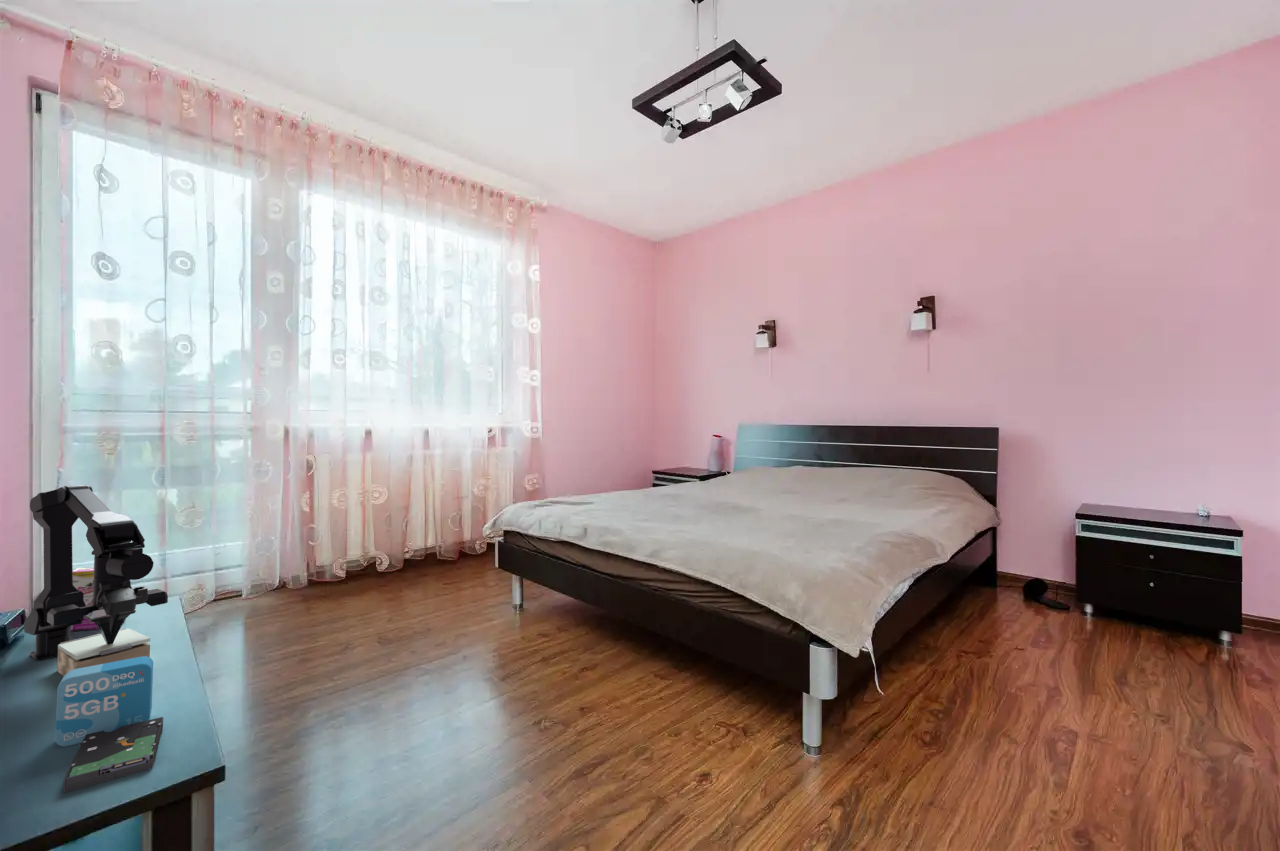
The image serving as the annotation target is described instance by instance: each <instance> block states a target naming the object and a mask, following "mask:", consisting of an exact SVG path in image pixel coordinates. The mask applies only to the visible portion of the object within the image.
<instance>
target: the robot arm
mask: <svg viewBox="0 0 1280 851" xmlns="http://www.w3.org/2000/svg"><path fill="white" fill-rule="evenodd" d="M29 509H30V511H31V512H32V519H33V520H34V521H35V522H36V523H37V524H38V525H39V526H40V527H41V528H42V531H43V533H42V534H43V589H42V590H41V592H40V593H39V595H38V596H37V597H36V598H35V599H34V600H33V609H32V610H31V612H30V613H29V615H28V616H27V617H26V620H25V621H24V622H23V630H24V633H25V634H29V635H32V636H35V648H34V649H35V651H31V652H29V655H30V656H31V657H32V659H34V660H35V661H41V660H45V659H49V658H54V657H58V645H59V644H60V643H62V642H66V641H70V640H71V634H72V631H71V626H73V625H77V624H82V621H83V618H84V615H85V619H87V620H89V621H90V622H95V624H96V625H97V627H98V628H99V629H98V630H99V632H100V634H102V636H103V638H104V640H105V642H106V644H108V645H109V644H113V643H114V640H115V638H116V636H117V634H118V632H119V630H120V629H122V628H121V627H122V625H123V624H124V623H125V622H126V621H125V619H126V620H127V618H129V617H130V615H133V614H136V612H137V610H136V608H137V605H141V604H142V605H143V604H147V605H148V606H150V607H155V606H160V605H164V604H167V603H169V602H168V601H169V595H168V593H167V592H166V591H165V590H162V589H159V588H154V589H149V590H148V587H147V585H142V586H136V587H134V588H133V587H132V584H131V581H137V580H142V579H143V578H145V577H146V576H148V575H149V574H150V573H151V571H152V570H153V568H154V561H153V558H152V557H151V556H150V555H148V554H145V553H143V552H144V549H143V548H146V546H145V541H146V539H145V538H144V536H143V534H142V532H141V531H140V528H139V527H138V525H137V524H136V522H135V520H133V519H131V518H130V517H129V516H127V515H125V514H121V513H116V512H113V511H112V510H111V509H110V508H109V507H108V506H107V505H106V504H105V503H104V502H103V501H102V500H101V499H100V498H99V497H98V495H96V494H95V493H94V490H93V487H92V486H91V485H87V484H76V485H75V484H74V485H64V486H61V487H59V488H57V489H54V490H49V491H45V492H39V493H38V494H36V495H35V496H33V497H32V498H31V499H30V501H29ZM78 519H79V520H80V521H82V523H83V524H84V525H85V526H86V528H87V530H86V533H85V537H86V541H87V542H88V544H89V546H90V547H91V548H92V549H93V550H92V551H91V553H90V554H91V555H92V556H94V559H93V560H94V561H93V562H94V563H93V567H94V580H93V585H94V587H93V598H92V603H93V605H90V606H86V604H85V602H84V600H83V597H84V594H83V592H82V591H79V590H77V589H76V588H75V587H74V586H73V570H74V568H73V567H74V566H73V525H75V523H76V522H77V521H78ZM100 607H101V608H100ZM102 607H103V608H102ZM108 615H110V616H108ZM109 621H110V624H109ZM124 621H125V622H124ZM123 622H124V623H123Z"/></svg>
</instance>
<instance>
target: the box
mask: <svg viewBox="0 0 1280 851" xmlns="http://www.w3.org/2000/svg"><path fill="white" fill-rule="evenodd" d="M142 656H146V657H150V656H151V644H149V642H146V643H142V644H138V645H134V646H132V648H128V649H124V650H120V651H116V652H112V653H108V654H104V655H100V654H99V655H95V656H91V657H87V658H83V659H79V660H76V659H74V658H73V657H71V656H69V655H68V654H66V653H65V652H63V651H61V650H60V649H58V656H57V664H56V671H57V672H58V673H59V674H61V675H62V677H64V676H65V674H66V673H68V672H69V671H71V670H74V669H78V668H83V667H89V666H94V665H99V664H105V663H110V662H115V661H121V660H126V659H131V658H137V657H142ZM150 658H151V657H150Z"/></svg>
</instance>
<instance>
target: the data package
mask: <svg viewBox="0 0 1280 851" xmlns="http://www.w3.org/2000/svg"><path fill="white" fill-rule="evenodd" d="M153 675H154V660H153V659H152V657H146V656H142V657H137V658H131V659H126V660H121V661H115V662H110V663H105V664H99V665H94V666H89V667H83V668H78V669H74V670H71V671H69V672H68V673H66V674H65V676H62V679H61V680H60V682H59V684H58V686H57V688H56V689H57V690H56V714H55V716H56V717H55V743H56V745H58V746H59V747H71V746H75V745H79V744H82V741H83V739H84V738H85V736H86V735H87V734H91V733H95V732H99V731H103V730H104V731H105V732H112V731H114V730H116V729H117V728H120V727H121V726H125V725H130V724H134V723H139V722H143V721H148V720H151V719H150V718H151V714H152V708H153V684H154V683H153V680H154V679H153V677H154V676H153Z"/></svg>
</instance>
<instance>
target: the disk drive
mask: <svg viewBox="0 0 1280 851" xmlns="http://www.w3.org/2000/svg"><path fill="white" fill-rule="evenodd" d="M163 730H164V717H163V716H160V717H157V718H156V717H155V718H153V719H149V720H148V721H143V722H139V723H134V724H130V725H125V726H121V727H120V728H117V729H116V730H114V731H112V732H105V731H104V730H103V731H99V732H95V733H91V734H87V735H86V736H85V738H84V739H83V741H82V743H80V746H79V748H78V750H77V752H76V754H75V756H74V759H73V760H72V762H71V764H70V766H69V768H68V770H67V772H66V774H65V776H64V780H63V793H65V794H66V793H68V792H72V791H74V790H79V789H83V788H86V787H90V786H94V785H98V784H101V783H104V782H108V781H111V780H116V779H119V778H122V776H123V777H126V776H125V775H127V776H129V775H134V774H137V772H138V773H141V772H144V771H143V770H145V771H147V770H146V769H149V768H152V767H153V768H154V764H155V763H156V758H157V752H158V748H159V746H158V745H160V740H161V737H162V734H163ZM153 768H152V769H153ZM149 770H150V769H149ZM140 771H141V772H140Z"/></svg>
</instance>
